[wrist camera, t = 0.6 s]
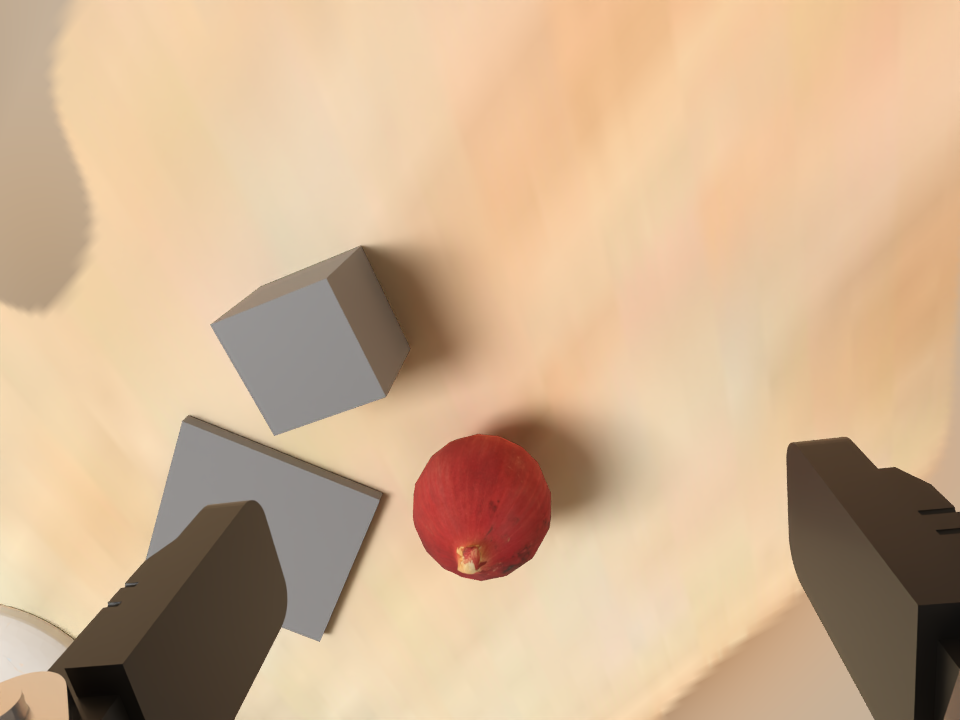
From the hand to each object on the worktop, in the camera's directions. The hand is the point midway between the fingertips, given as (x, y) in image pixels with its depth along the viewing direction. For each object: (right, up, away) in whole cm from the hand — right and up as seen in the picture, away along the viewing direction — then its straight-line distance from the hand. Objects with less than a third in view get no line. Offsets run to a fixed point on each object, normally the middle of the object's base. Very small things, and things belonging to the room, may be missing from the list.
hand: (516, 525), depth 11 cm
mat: (-12, -6, +25) cm, 29 cm away
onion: (0, -2, +23) cm, 23 cm away
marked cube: (-7, +4, +20) cm, 22 cm away
